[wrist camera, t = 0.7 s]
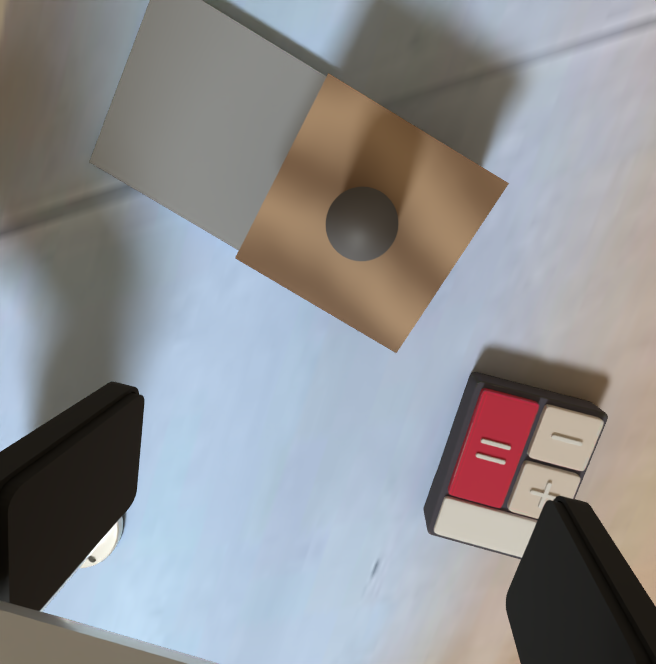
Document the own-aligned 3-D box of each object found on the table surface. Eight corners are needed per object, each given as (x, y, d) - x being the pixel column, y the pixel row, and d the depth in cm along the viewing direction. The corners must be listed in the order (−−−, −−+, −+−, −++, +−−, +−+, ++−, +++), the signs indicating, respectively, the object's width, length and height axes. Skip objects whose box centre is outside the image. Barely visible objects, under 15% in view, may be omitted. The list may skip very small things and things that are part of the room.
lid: (395, 345, 33) (399, 378, 27) (243, 255, 33) (208, 266, 26) (500, 185, 30) (535, 177, 23) (331, 82, 29) (317, 43, 23)
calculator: (615, 417, 36) (550, 573, 39) (590, 398, 40) (533, 541, 43) (479, 382, 36) (427, 539, 40) (468, 367, 41) (422, 510, 44)
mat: (248, 253, 39) (245, 254, 38) (96, 163, 39) (89, 162, 38) (335, 84, 35) (333, 80, 34) (165, -19, 34) (159, -26, 33)
